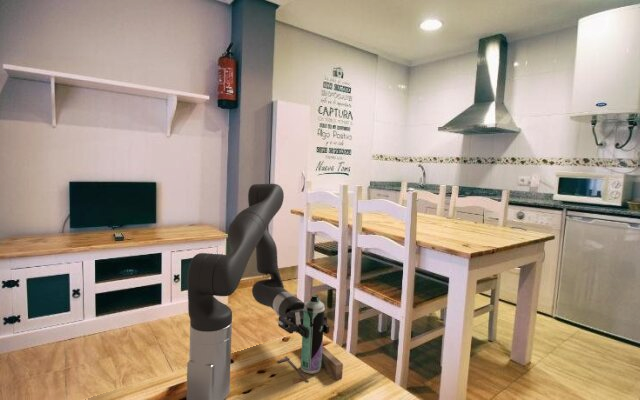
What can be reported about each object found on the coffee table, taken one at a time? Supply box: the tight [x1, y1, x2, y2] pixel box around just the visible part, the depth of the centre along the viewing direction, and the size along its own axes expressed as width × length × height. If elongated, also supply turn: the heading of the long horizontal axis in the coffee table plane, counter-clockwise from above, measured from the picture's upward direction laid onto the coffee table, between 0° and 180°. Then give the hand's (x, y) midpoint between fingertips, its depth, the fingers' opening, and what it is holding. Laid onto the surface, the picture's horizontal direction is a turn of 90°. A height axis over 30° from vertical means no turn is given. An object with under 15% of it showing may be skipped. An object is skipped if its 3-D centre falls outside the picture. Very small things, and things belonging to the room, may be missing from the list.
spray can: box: [300, 294, 326, 375], centre depth 93 cm, size 6×6×20 cm
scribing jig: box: [276, 345, 344, 384], centre depth 95 cm, size 18×12×4 cm, turn 31°
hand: (318, 332), depth 91 cm, fingers closed on spray can, 5 cm apart
